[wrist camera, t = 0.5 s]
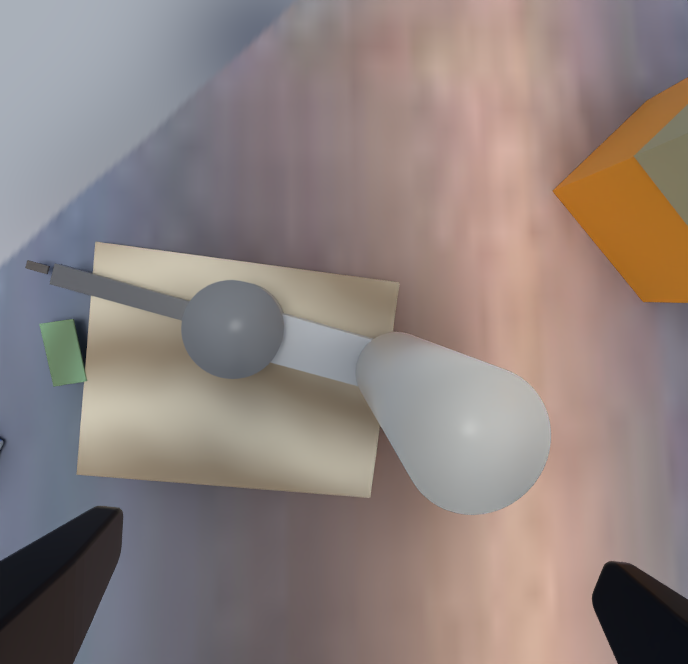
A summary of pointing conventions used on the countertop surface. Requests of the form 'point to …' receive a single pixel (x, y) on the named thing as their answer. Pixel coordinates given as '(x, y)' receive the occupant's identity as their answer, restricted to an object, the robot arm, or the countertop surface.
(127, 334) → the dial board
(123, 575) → the countertop surface
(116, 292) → the crank handle
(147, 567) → the countertop surface
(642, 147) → the orange juice
